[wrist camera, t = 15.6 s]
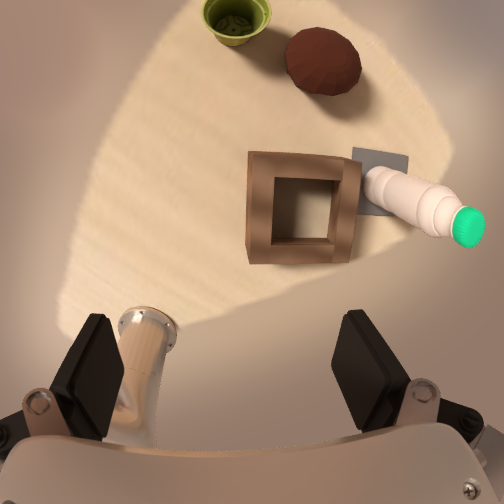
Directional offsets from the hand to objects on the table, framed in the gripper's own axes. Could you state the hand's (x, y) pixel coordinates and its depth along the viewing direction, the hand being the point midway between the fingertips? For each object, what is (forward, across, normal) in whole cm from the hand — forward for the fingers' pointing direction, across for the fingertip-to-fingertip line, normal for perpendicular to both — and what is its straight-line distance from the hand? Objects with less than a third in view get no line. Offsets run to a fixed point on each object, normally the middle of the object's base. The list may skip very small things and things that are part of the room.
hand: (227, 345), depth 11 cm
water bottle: (+38, -28, -1) cm, 47 cm away
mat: (+38, -28, -1) cm, 47 cm away
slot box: (+38, -12, +3) cm, 40 cm away
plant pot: (+38, -1, -26) cm, 46 cm away
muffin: (+38, -14, -20) cm, 46 cm away
